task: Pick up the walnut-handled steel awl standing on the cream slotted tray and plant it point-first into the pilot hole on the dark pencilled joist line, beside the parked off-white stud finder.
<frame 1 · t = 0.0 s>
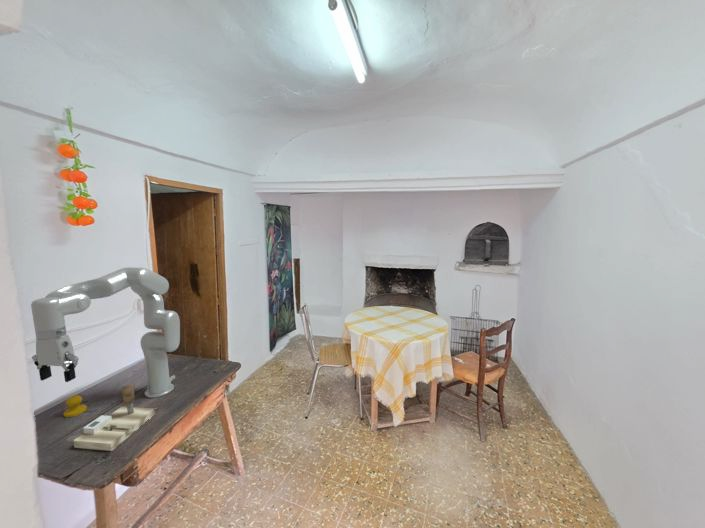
hand: (58, 379, 109), 31 cm above the table, fingers open, 9 cm apart
cream slotted tray: (117, 429, 129), on the table
doorknob: (75, 412, 141), on the table
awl: (130, 412, 135), point 3 cm above the table, touching cream slotted tray
stud finder: (98, 427, 126), resting on cream slotted tray
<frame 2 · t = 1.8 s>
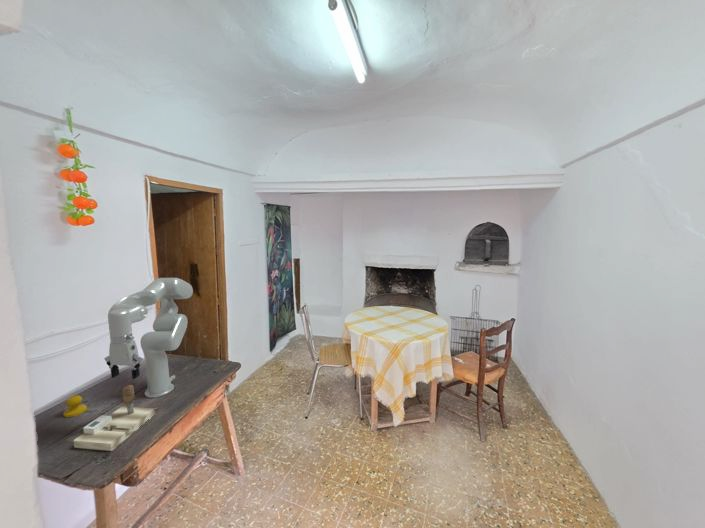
hand: (125, 376, 132), 20 cm above the table, fingers open, 9 cm apart
nothing on the table moved.
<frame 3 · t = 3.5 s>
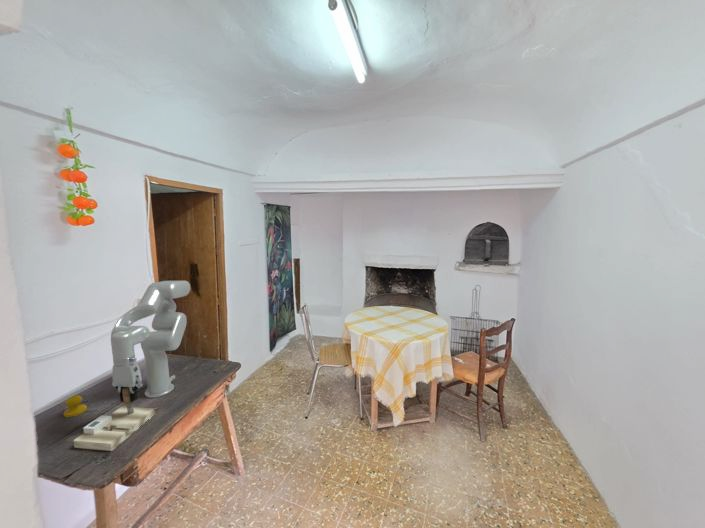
hand: (129, 399, 134), 9 cm above the table, fingers closed on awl, 4 cm apart
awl: (130, 412, 135), point 3 cm above the table, touching gripper, cream slotted tray
everything else where it was.
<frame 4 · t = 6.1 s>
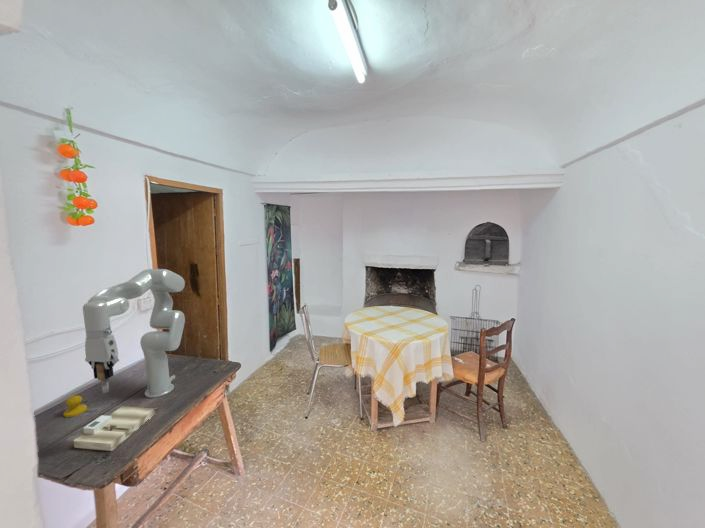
hand: (104, 376, 122), 25 cm above the table, fingers closed on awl, 4 cm apart
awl: (105, 391, 123), point 19 cm above the table, touching gripper
everything else where it was.
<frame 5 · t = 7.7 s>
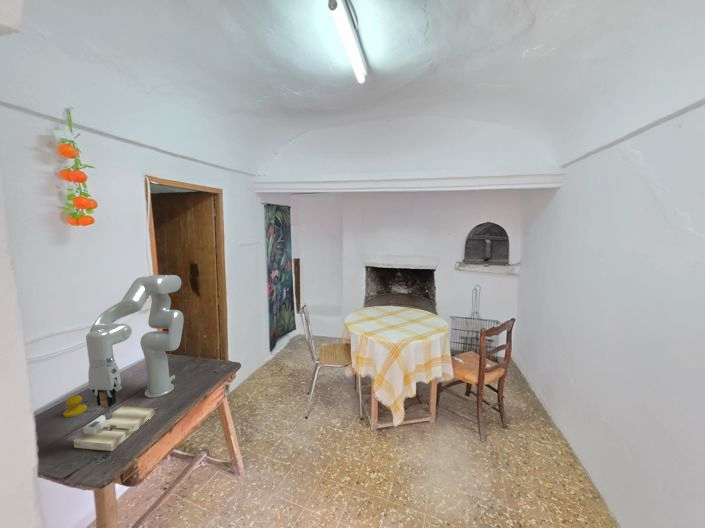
hand: (107, 403, 124), 14 cm above the table, fingers closed on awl, 4 cm apart
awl: (108, 418, 125), point 8 cm above the table, touching gripper
everything else where it was.
when the fingers open (8 cm above the table, at t = 9.1 s): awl drops 2 cm, resting in cream slotted tray.
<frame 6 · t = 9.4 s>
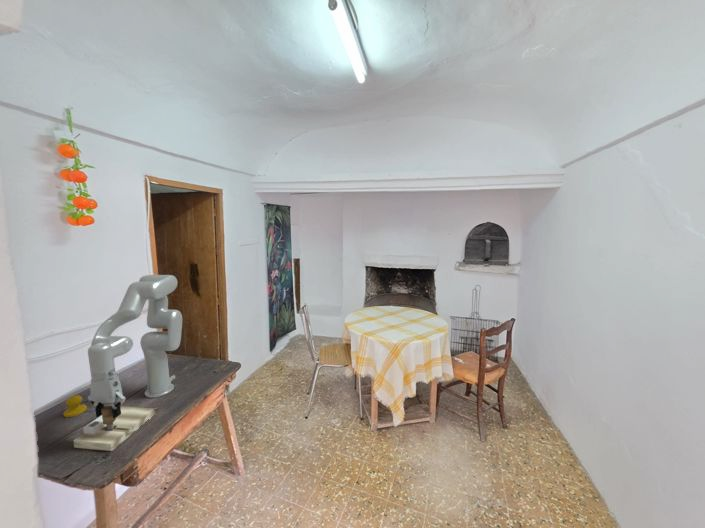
hand: (108, 415, 125), 9 cm above the table, fingers open, 6 cm apart
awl: (111, 434, 126), resting in cream slotted tray
everything else where it was.
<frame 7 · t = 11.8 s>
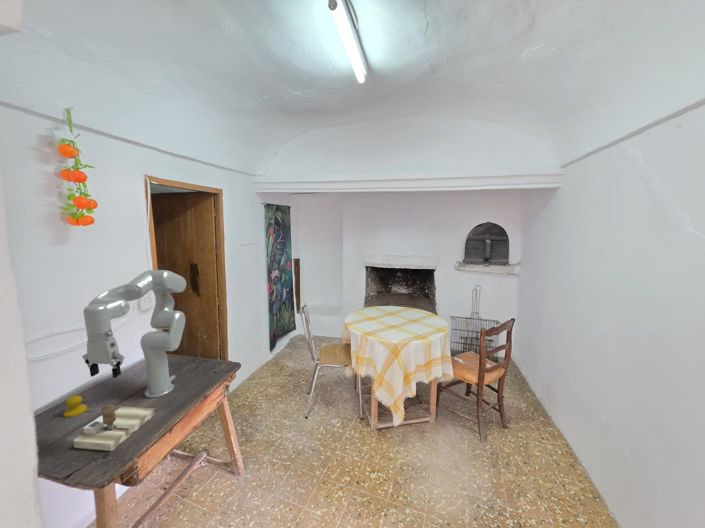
hand: (106, 375, 124), 25 cm above the table, fingers open, 9 cm apart
nothing on the table moved.
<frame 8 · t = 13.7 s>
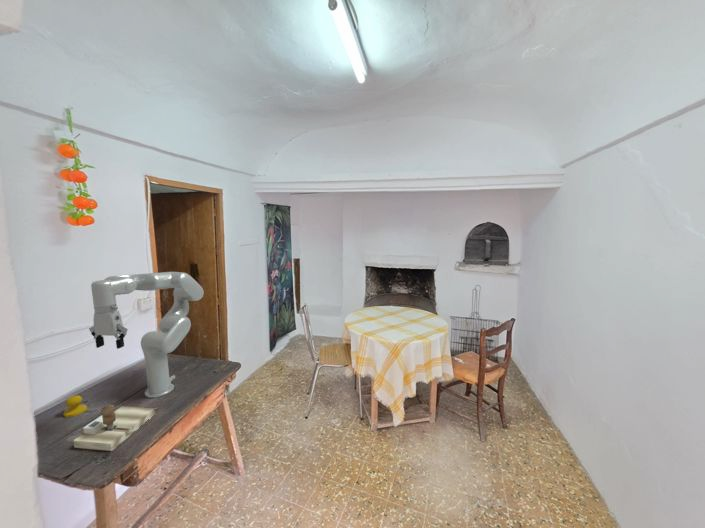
hand: (110, 347, 134), 32 cm above the table, fingers open, 9 cm apart
nothing on the table moved.
at the end: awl 0.1 cm from the target spot on the cream slotted tray, point 0.0 cm above the cream slotted tray's base; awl tilted 0°; the gripper is holding nothing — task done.
